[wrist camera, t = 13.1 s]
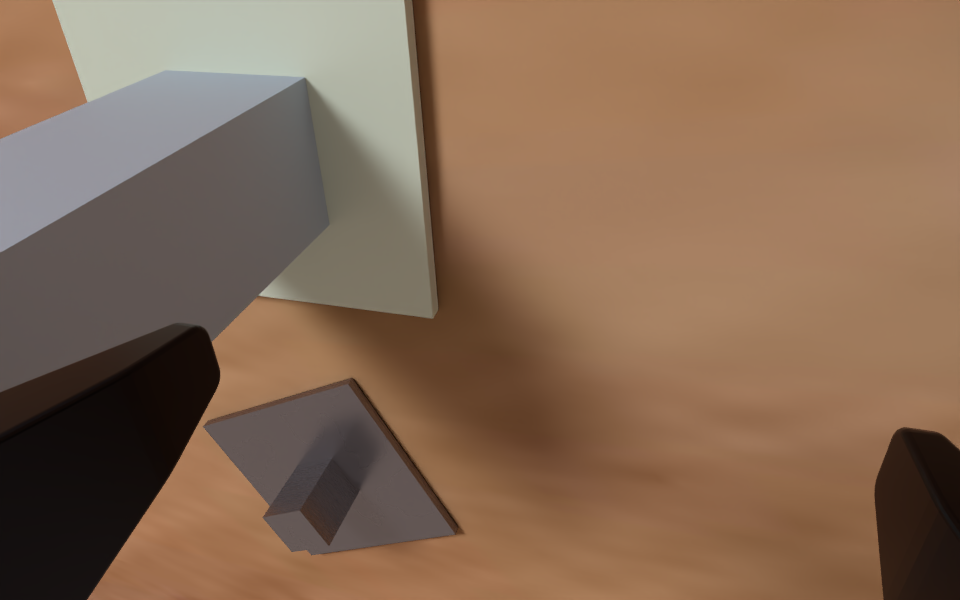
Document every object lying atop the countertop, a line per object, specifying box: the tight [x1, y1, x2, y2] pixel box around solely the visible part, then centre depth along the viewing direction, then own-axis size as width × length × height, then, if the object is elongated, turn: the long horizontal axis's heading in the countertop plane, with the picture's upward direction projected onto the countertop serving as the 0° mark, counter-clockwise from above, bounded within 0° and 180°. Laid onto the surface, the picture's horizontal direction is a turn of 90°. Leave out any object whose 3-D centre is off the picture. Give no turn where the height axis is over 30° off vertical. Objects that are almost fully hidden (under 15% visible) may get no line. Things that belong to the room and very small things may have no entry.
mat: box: [53, 0, 438, 319], centre depth 23 cm, size 12×12×1 cm
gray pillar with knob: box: [0, 70, 330, 392], centre depth 18 cm, size 5×5×14 cm
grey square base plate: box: [203, 378, 458, 555], centre depth 31 cm, size 9×9×3 cm
